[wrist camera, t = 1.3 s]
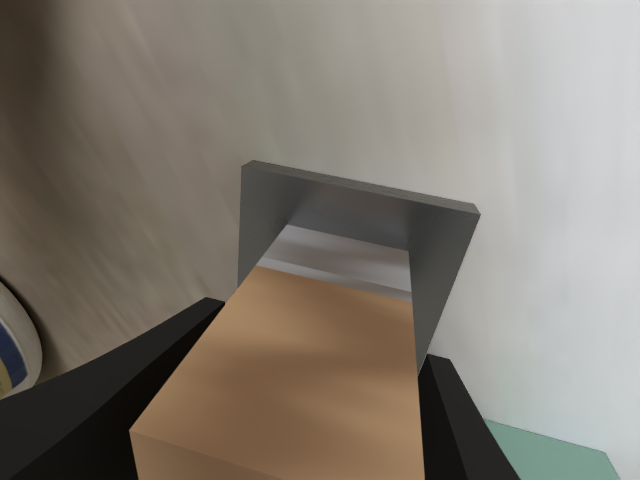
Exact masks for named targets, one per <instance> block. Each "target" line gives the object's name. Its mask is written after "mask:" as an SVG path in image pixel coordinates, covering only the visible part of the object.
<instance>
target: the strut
mask: <svg viewBox="0 0 640 480" xmlns="http://www.w3.org/2000/svg"><path fill="white" fill-rule="evenodd" d="M129 432H130V438H131V443H132V448H133V453H134V458H135V463H136V468H137V473H138V478H139V480H425V475H424V461H423V447H422V433H421V419H420V405H419V391H418V377H417V363H416V349H415V335H414V321H413V307H412V293H411V279H410V265H409V251H405V250H400V249H395V248H391V247H386V246H382V245H377V244H373V243H368V242H364V241H359V240H355V239H350V238H346V237H341V236H337V235H332V234H328V233H323V232H318V231H314V230H309V229H305V228H300V227H296V226H291V225H286V226H285V228H284V229H283V230H282V231H281V233H280V234H279V235H278V237H277V238H276V239H275V241H274V242H273V243H272V244H271V246H270V247H269V248H268V250H267V251H266V252H265V254H264V255H263V256H262V258H261V259H260V260H259V261H258V263H257V264H256V265H255V267H254V268H253V269H252V271H251V272H250V273H249V274H248V276H247V277H246V278H245V280H244V281H243V282H242V284H241V285H240V286H239V288H238V289H237V290H236V291H235V293H234V294H233V295H232V297H231V298H230V299H229V301H228V302H227V303H226V304H225V306H224V307H223V308H222V310H221V311H220V312H219V314H218V315H217V316H216V318H215V319H214V320H213V321H212V323H211V324H210V325H209V327H208V328H207V329H206V331H205V332H204V333H203V335H202V336H201V337H200V338H199V340H198V341H197V342H196V344H195V345H194V346H193V348H192V349H191V350H190V351H189V353H188V354H187V355H186V357H185V358H184V359H183V361H182V362H181V363H180V365H179V366H178V367H177V368H176V370H175V371H174V372H173V374H172V375H171V376H170V378H169V379H168V380H167V381H166V383H165V384H164V385H163V387H162V388H161V389H160V391H159V392H158V393H157V395H156V396H155V397H154V398H153V400H152V401H151V402H150V404H149V405H148V406H147V408H146V409H145V410H144V411H143V413H142V414H141V415H140V417H139V418H138V419H137V421H136V422H135V423H134V425H133V426H132V427H131V428H130V430H129Z"/></svg>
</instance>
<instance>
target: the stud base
mask: <svg viewBox="0 0 640 480" xmlns="http://www.w3.org/2000/svg"><path fill="white" fill-rule="evenodd" d="M480 215H481V214H480V213H479V211H478V209H477V208H476V206H475V205H474V204H471V203H466V202H461V201H456V200H451V199H446V198H441V197H436V196H430V195H425V194H420V193H415V192H410V191H405V190H400V189H395V188H390V187H385V186H380V185H375V184H370V183H365V182H360V181H355V180H350V179H345V178H340V177H335V176H330V175H325V174H320V173H315V172H310V171H305V170H300V169H295V168H290V167H285V166H280V165H275V164H270V163H265V162H260V161H255V160H252V161H250V162H249V163H247V164H245V165H243V166H242V172H241V201H240V230H239V260H238V288H239V286H240V285H241V284H242V282H243V281H244V280H245V278H246V277H247V276H248V274H249V273H250V272H251V271H252V269H253V268H254V267H255V265H256V264H257V263H258V261H259V260H260V259H261V258H262V256H263V255H264V254H265V252H266V251H267V250H268V248H269V247H270V246H271V244H272V243H273V242H274V241H275V239H276V238H277V237H278V235H279V234H280V233H281V231H282V230H283V229H284V228H285V226H286V225H291V226H296V227H300V228H305V229H309V230H314V231H318V232H323V233H328V234H332V235H337V236H341V237H346V238H350V239H355V240H359V241H364V242H368V243H373V244H377V245H382V246H386V247H391V248H395V249H400V250H405V251H409V265H410V279H411V293H412V307H413V321H414V335H415V349H416V363H417V375H418V372H419V370H420V367H421V365H422V362H423V360H424V357H425V354H426V352H427V349H428V347H429V344H430V342H431V339H432V337H433V334H434V332H435V329H436V327H437V324H438V322H439V319H440V317H441V314H442V311H443V309H444V306H445V304H446V301H447V299H448V296H449V294H450V291H451V289H452V286H453V284H454V281H455V279H456V276H457V273H458V271H459V268H460V266H461V263H462V261H463V258H464V256H465V253H466V251H467V248H468V246H469V243H470V241H471V238H472V235H473V233H474V230H475V228H476V225H477V223H478V220H479V218H480Z"/></svg>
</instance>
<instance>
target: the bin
mask: <svg viewBox="0 0 640 480" xmlns="http://www.w3.org/2000/svg"><path fill="white" fill-rule="evenodd" d="M484 421H485V423H486V425H487V426H488V428H489V430H490V431H491V433H492V435H493V436H494V438H495V440H496V441H497V443H498V445H499V446H500V448H501V449H502V451H503V453H504V454H505V456H506V457H507V459H508V461H509V462H510V464H511V465H512V467H513V468H514V470H515V471H516V473H517V474H518V476H519V477H520V479H521V480H620V478H619V476H618V474H617V472H616V471H615V469H614V467H613V465H612V464H611V462H610V460H609V458H608V456H607V455H606V453H604V452H600V451H597V450H593V449H589V448H586V447H582V446H578V445H575V444H571V443H567V442H564V441H560V440H556V439H553V438H549V437H545V436H542V435H538V434H535V433H531V432H527V431H524V430H520V429H516V428H513V427H509V426H505V425H502V424H498V423H494V422H491V421H487V420H484Z"/></svg>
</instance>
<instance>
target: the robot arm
mask: <svg viewBox="0 0 640 480" xmlns="http://www.w3.org/2000/svg"><path fill="white" fill-rule="evenodd" d="M224 306H225V302H224V301H220V300H216V299H212V298H208V297H205V298H204V299H202V300H200V301H198V302H197V303H195V304H193V305H191V306H190V307H188V308H186V309H185V310H183V311H181V312H180V313H178V314H176V315H175V316H173V317H171V318H169V319H168V320H166V321H164V322H163V323H161V324H159V325H158V326H156V327H154V328H152V329H150V330H149V331H147V332H145V333H143V334H142V335H140V336H138V337H136V338H135V339H133V340H131V341H129V342H127V343H125V344H123V345H121V346H119V347H117V348H115V349H114V350H112V351H110V352H108V353H106V354H104V355H102V356H100V357H98V358H96V359H94V360H92V361H90V362H88V363H86V364H84V365H82V366H80V367H77V368H75V369H73V370H71V371H69V372H66V373H64V374H62V375H60V376H57V377H55V378H53V379H51V380H48V381H46V382H44V383H41V384H39V385H37V386H34V387H32V388H29V389H26V390H24V391H21V392H19V393H16V394H14V395H11V396H8V397H6V398H3V399H1V400H0V480H139V478H138V473H137V468H136V463H135V458H134V453H133V448H132V443H131V438H130V432H129V430H130V428H131V427H132V426H133V425H134V423H135V422H136V421H137V419H138V418H139V417H140V415H141V414H142V413H143V411H144V410H145V409H146V408H147V406H148V405H149V404H150V402H151V401H152V400H153V398H154V397H155V396H156V395H157V393H158V392H159V391H160V389H161V388H162V387H163V385H164V384H165V383H166V381H167V380H168V379H169V378H170V376H171V375H172V374H173V372H174V371H175V370H176V368H177V367H178V366H179V365H180V363H181V362H182V361H183V359H184V358H185V357H186V355H187V354H188V353H189V351H190V350H191V349H192V348H193V346H194V345H195V344H196V342H197V341H198V340H199V338H200V337H201V336H202V335H203V333H204V332H205V331H206V329H207V328H208V327H209V325H210V324H211V323H212V321H213V320H214V319H215V318H216V316H217V315H218V314H219V312H220V311H221V310H222V308H223V307H224ZM418 391H419V405H420V419H421V433H422V447H423V461H424V475H425V480H521V479H520V477H519V476H518V474H517V473H516V471H515V470H514V468H513V467H512V465H511V464H510V462H509V461H508V459H507V457H506V456H505V454H504V453H503V451H502V449H501V448H500V446H499V445H498V443H497V441H496V440H495V438H494V436H493V435H492V433H491V431H490V430H489V428H488V426H487V425H486V423H485V421H484V420H483V418H482V416H481V414H480V413H479V411H478V409H477V407H476V406H475V404H474V402H473V400H472V399H471V397H470V395H469V393H468V391H467V390H466V388H465V386H464V384H463V382H462V380H461V379H460V377H459V375H458V373H457V371H456V369H455V368H454V366H453V364H452V362H451V361H450V359H446V358H442V357H439V356H435V355H431V354H427V355H426V358H425V360H424V363H423V365H422V368H421V370H420V373H419V375H418Z"/></svg>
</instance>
